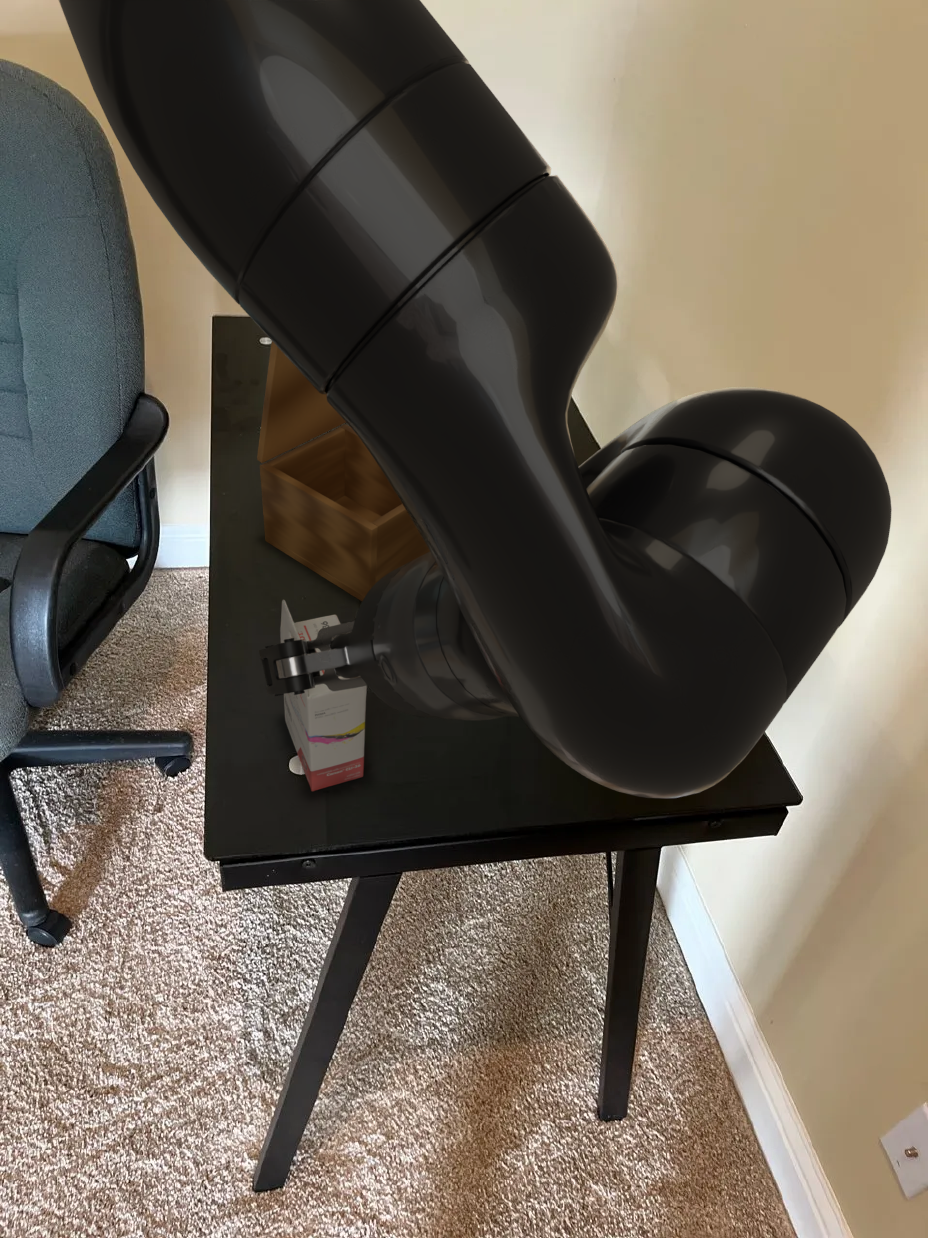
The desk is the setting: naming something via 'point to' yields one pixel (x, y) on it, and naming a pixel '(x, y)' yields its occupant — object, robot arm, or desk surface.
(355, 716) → the ink cartridge box
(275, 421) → the lid
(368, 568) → the chest
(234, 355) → the desk surface
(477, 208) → the robot arm
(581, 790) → the desk surface
